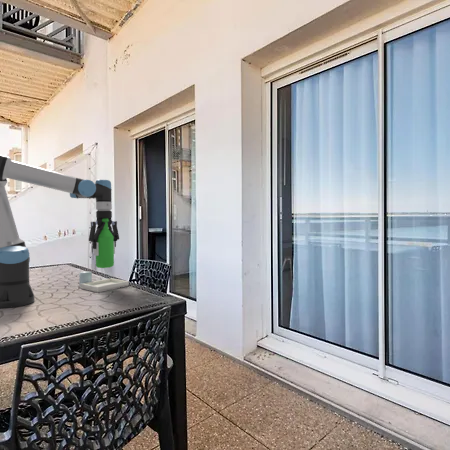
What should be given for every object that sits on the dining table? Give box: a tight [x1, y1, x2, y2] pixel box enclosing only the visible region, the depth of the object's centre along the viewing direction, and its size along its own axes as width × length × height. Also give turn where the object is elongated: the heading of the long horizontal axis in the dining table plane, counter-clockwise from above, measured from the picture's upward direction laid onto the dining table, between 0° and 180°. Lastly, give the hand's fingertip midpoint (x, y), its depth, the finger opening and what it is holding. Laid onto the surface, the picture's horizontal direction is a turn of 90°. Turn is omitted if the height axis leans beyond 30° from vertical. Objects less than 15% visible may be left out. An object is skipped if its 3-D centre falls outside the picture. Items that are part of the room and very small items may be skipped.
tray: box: [79, 278, 130, 293], centre depth 166 cm, size 18×15×2 cm
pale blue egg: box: [78, 271, 93, 287], centre depth 171 cm, size 6×6×7 cm
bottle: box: [95, 218, 115, 269], centre depth 166 cm, size 9×9×25 cm
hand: (104, 254), depth 166 cm, fingers closed on bottle, 9 cm apart
